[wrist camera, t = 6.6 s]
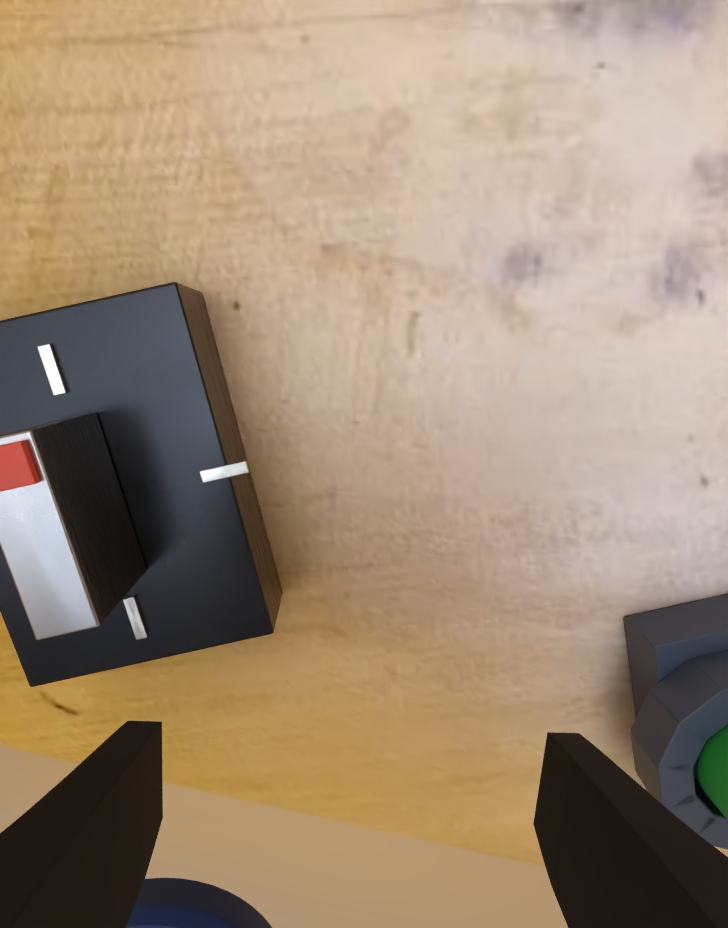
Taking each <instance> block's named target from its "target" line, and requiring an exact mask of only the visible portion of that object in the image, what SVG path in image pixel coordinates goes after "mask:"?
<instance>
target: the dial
mask: <svg viewBox="0 0 728 928" xmlns="http://www.w3.org/2000/svg"><path fill="white" fill-rule="evenodd" d="M0 546H1V548H2V551H3V554H4V556H5V559H6V562H7V564H8V567H9V569H10V572H11V575H12V577H13V580H14V583H15V585H16V588H17V590H18V593H19V596H20V598H21V601H22V604H23V606H24V609H25V611H26V614H27V617H28V619H29V622H30V625H31V627H32V630H33V632H34V635H35V638H36V639H37V640H40V639H45V638H49V637H54V636H58V635H63V634H67V633H72V632H76V631H81V630H85V629H90V628H94V627H98V626H100V625H101V623H102V622H103V621H104V620H105V619H106V618H107V616H108V615H109V614H110V613H111V612H112V611H113V609H114V608H115V607H116V606H117V605H118V604H119V602H120V601H121V600H122V599H123V598H124V597H125V595H126V594H127V593H128V592H129V591H130V590H131V589H132V587H133V586H134V585H135V584H136V583H137V582H138V580H139V579H140V578H141V577H142V576H143V575H144V573H145V572H146V571H147V569H146V566H145V563H144V560H143V557H142V553H141V550H140V547H139V544H138V541H137V538H136V535H135V532H134V529H133V526H132V523H131V519H130V516H129V513H128V510H127V507H126V504H125V501H124V498H123V495H122V492H121V489H120V485H119V482H118V479H117V476H116V473H115V470H114V467H113V464H112V461H111V458H110V455H109V451H108V448H107V445H106V442H105V439H104V436H103V433H102V430H101V427H100V424H99V421H98V417H97V414H96V413H90V414H86V415H81V416H77V417H72V418H68V419H63V420H59V421H54V422H50V423H45V424H41V425H37V426H33V427H29V428H25V429H21V430H18V431H14V432H10V433H6V434H2V435H0Z"/></svg>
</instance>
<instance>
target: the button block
mask: <svg viewBox="0 0 728 928" xmlns="http://www.w3.org/2000/svg"><path fill="white" fill-rule="evenodd" d="M624 625H625V633H626V641H627V649H628V657H629V665H630V673H631V681H632V689H633V697H634V705H635V713H636V720H635V723H634V725H633V727H632V729H631V739H632V747H633V754H634V762H635V770H636V772H637V774H638V776H639V777H640V779H641V780H642V782H643V783H644V785H645V788H646V790H647V791H648V793H650V794H651V795H652V796H653V797H654V798H655V799H657V800H658V801H659V802H660V803H661V804H662V805H664V806H665V807H666V808H667V809H668V810H670V811H671V812H672V813H673V814H674V815H676V816H677V817H678V818H679V819H680V820H682V821H683V822H684V823H685V824H686V825H688V826H689V827H690V828H691V829H693V830H694V831H695V832H696V833H697V834H699V835H700V836H701V837H702V838H704V839H705V840H706V841H707V842H709V843H710V844H711V845H712V846H716V847H720V848H724V849H728V820H727V819H726V817H725V816H724V815H723V814H722V813H721V811H720V810H719V809H718V808H717V806H716V805H715V804H714V803H713V802H712V800H711V799H710V798H709V797H708V796H707V794H706V793H705V792H704V790H703V789H702V787H701V784H700V782H699V778H698V768H697V767H698V760H699V757H700V754H701V751H702V749H703V747H704V746H705V744H706V743H707V741H708V740H709V739H710V737H711V736H713V735H714V734H715V733H717V732H718V731H719V730H721V729H722V728H723V727H725V726H726V725H727V724H728V594H726V595H721V596H717V597H712V598H707V599H703V600H698V601H694V602H689V603H685V604H680V605H676V606H671V607H667V608H662V609H658V610H653V611H649V612H644V613H640V614H635V615H631V616H626V617H624Z"/></svg>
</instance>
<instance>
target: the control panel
mask: <svg viewBox="0 0 728 928" xmlns="http://www.w3.org/2000/svg"><path fill="white" fill-rule="evenodd" d="M90 413H96V414H97V417H98V421H99V424H100V427H101V430H102V433H103V436H104V439H105V442H106V445H107V448H108V451H109V455H110V458H111V461H112V464H113V467H114V470H115V473H116V476H117V479H118V482H119V485H120V489H121V492H122V495H123V498H124V501H125V504H126V507H127V510H128V513H129V516H130V519H131V523H132V526H133V529H134V532H135V535H136V538H137V541H138V544H139V547H140V550H141V553H142V557H143V560H144V563H145V566H146V569H147V571H146V572H145V573H144V575H143V576H142V577H141V578H140V579H139V580H138V582H137V583H136V584H135V585H134V586H133V587H132V589H131V590H130V591H129V592H128V593H127V594H126V595H125V597H124V598H123V599H122V600H121V601H120V602H119V604H118V605H117V606H116V607H115V608H114V609H113V611H112V612H111V613H110V614H109V615H108V616H107V618H106V619H105V620H104V621H103V622H102V623H101V625H100V626H98V627H94V628H90V629H85V630H81V631H76V632H72V633H67V634H63V635H58V636H54V637H49V638H45V639H40V640H37V639H36V638H35V635H34V632H33V630H32V627H31V625H30V622H29V619H28V617H27V614H26V611H25V609H24V606H23V604H22V601H21V598H20V596H19V593H18V590H17V588H16V585H15V583H14V580H13V577H12V575H11V572H10V569H9V567H8V564H7V562H6V559H5V556H4V554H3V551H2V548H1V546H0V611H1V614H2V616H3V619H4V621H5V624H6V626H7V629H8V631H9V634H10V637H11V639H12V642H13V644H14V647H15V649H16V652H17V654H18V657H19V659H20V662H21V665H22V667H23V670H24V672H25V675H26V677H27V680H28V682H29V685H30V686H31V687H34V686H38V685H43V684H47V683H52V682H56V681H61V680H65V679H70V678H74V677H79V676H83V675H88V674H92V673H97V672H101V671H106V670H110V669H115V668H119V667H124V666H128V665H133V664H137V663H142V662H146V661H151V660H155V659H160V658H164V657H169V656H173V655H178V654H182V653H187V652H191V651H196V650H200V649H205V648H209V647H214V646H218V645H223V644H227V643H232V642H236V641H241V640H245V639H250V638H254V637H259V636H263V635H268V634H272V633H273V632H274V628H275V624H276V619H277V615H278V610H279V606H280V602H281V597H282V593H283V592H282V588H281V584H280V581H279V577H278V573H277V570H276V566H275V562H274V558H273V555H272V551H271V547H270V544H269V540H268V536H267V532H266V529H265V525H264V521H263V517H262V514H261V510H260V506H259V503H258V499H257V495H256V491H255V488H254V484H253V480H252V477H251V473H250V469H249V465H248V462H247V458H246V454H245V451H244V447H243V443H242V439H241V436H240V432H239V428H238V425H237V421H236V417H235V413H234V410H233V406H232V402H231V399H230V395H229V391H228V387H227V384H226V380H225V376H224V373H223V369H222V365H221V361H220V358H219V354H218V350H217V346H216V343H215V339H214V335H213V332H212V328H211V324H210V320H209V317H208V313H207V309H206V306H205V302H204V298H203V294H202V293H201V292H199V291H196V290H194V289H191V288H189V287H186V286H184V285H181V284H179V283H176V282H173V283H168V284H164V285H159V286H155V287H150V288H146V289H141V290H137V291H132V292H128V293H123V294H119V295H114V296H110V297H105V298H101V299H96V300H92V301H87V302H83V303H78V304H74V305H69V306H65V307H60V308H56V309H51V310H47V311H42V312H38V313H33V314H29V315H24V316H20V317H15V318H11V319H6V320H2V321H0V435H2V434H6V433H10V432H14V431H18V430H21V429H25V428H29V427H33V426H37V425H41V424H45V423H50V422H54V421H59V420H63V419H68V418H72V417H77V416H81V415H86V414H90Z"/></svg>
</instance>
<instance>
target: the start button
mask: <svg viewBox="0 0 728 928" xmlns="http://www.w3.org/2000/svg"><path fill="white" fill-rule="evenodd" d="M697 768H698V778H699V782H700V784H701V787H702V789H703V790H704V792H705V793H706V794H707V796H708V797H709V798H710V799H711V800H712V802H713V803H714V804H715V805H716V806H717V808H718V809H719V810H720V811H721V813H722V814H723V815H724V816H725V817H726V819H727V820H728V724H727V725H726V726H725V727H723V728H722V729H721V730H719V731H718V732H717V733H715V734H714V735H713V736H711V737H710V739H709V740H708V741H707V743H706V744H705V746H704V747H703V749H702V751H701V754H700V757H699V760H698V767H697Z"/></svg>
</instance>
